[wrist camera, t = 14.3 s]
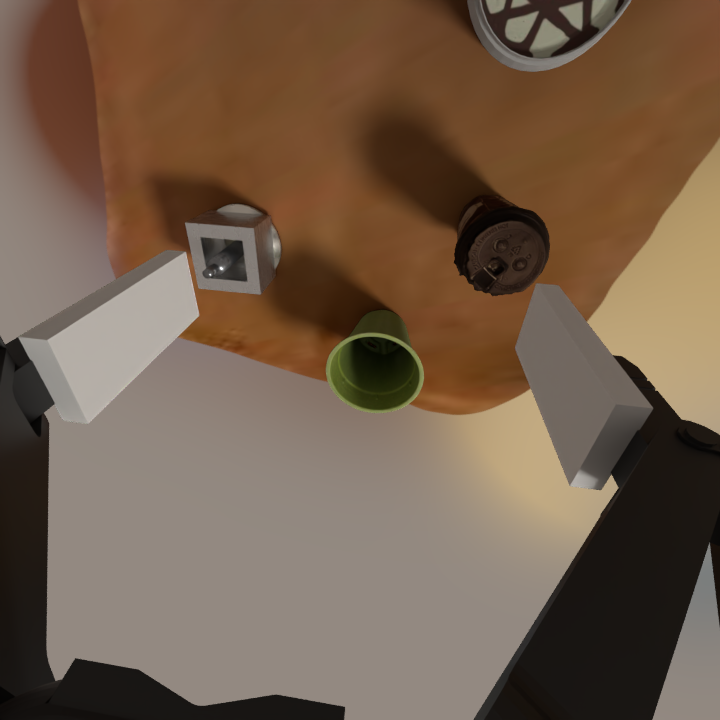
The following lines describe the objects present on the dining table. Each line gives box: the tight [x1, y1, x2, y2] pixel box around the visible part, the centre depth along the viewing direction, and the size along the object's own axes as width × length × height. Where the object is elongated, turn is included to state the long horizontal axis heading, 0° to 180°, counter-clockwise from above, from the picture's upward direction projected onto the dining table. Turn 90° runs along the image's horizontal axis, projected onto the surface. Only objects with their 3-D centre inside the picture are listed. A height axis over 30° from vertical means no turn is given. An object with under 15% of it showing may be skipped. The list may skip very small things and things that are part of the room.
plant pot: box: [326, 310, 424, 413], centre depth 50 cm, size 12×12×11 cm
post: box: [202, 204, 282, 279], centre depth 46 cm, size 10×10×11 cm
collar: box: [185, 210, 276, 295], centre depth 47 cm, size 8×8×6 cm
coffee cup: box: [454, 195, 550, 296], centre depth 40 cm, size 9×8×13 cm
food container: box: [467, 0, 631, 72], centre depth 32 cm, size 12×6×10 cm, turn 82°
